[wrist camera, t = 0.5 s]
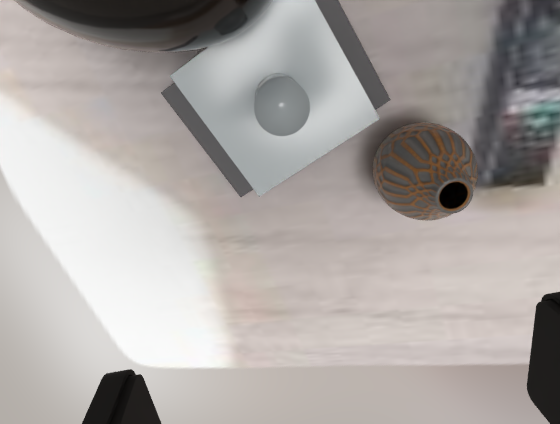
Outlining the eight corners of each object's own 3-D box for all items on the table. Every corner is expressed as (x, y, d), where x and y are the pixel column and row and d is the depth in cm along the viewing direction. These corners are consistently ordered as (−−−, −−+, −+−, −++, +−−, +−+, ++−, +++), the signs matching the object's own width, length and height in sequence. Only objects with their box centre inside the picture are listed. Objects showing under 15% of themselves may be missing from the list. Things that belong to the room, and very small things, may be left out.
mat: (322, -27, 27) (323, -28, 26) (388, 99, 30) (390, 99, 30) (162, 92, 29) (160, 92, 29) (240, 195, 33) (240, 197, 32)
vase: (365, 202, 34) (399, 253, 26) (361, 122, 31) (398, 150, 23) (445, 191, 34) (504, 237, 25) (448, 109, 31) (515, 132, 23)
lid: (300, -21, 26) (311, -39, 21) (376, 116, 30) (402, 132, 25) (172, 74, 28) (151, 82, 23) (259, 192, 32) (259, 222, 27)
